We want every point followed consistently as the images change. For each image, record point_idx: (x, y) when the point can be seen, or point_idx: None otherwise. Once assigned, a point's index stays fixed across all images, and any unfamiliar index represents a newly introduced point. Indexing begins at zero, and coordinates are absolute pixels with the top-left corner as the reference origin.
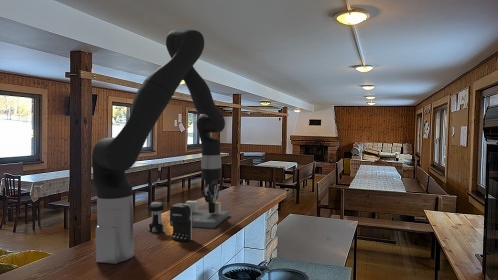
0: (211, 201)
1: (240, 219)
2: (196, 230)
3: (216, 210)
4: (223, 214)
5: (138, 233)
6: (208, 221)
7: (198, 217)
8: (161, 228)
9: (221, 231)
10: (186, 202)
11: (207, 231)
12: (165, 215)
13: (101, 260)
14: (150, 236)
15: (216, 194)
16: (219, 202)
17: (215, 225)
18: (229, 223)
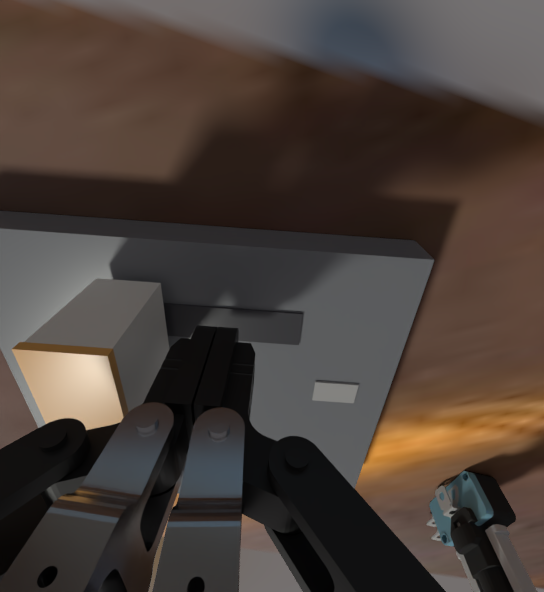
0: (328, 461)
1: (46, 29)
2: (463, 339)
3: (150, 324)
4: (109, 242)
5: None
6: (392, 310)
7: (269, 401)
8: (492, 494)
9: (535, 138)
10: None
11: (506, 262)
12: None
13: None
14: (538, 489)
15: (105, 535)
16: (40, 360)
17: (369, 240)
18: (243, 129)
